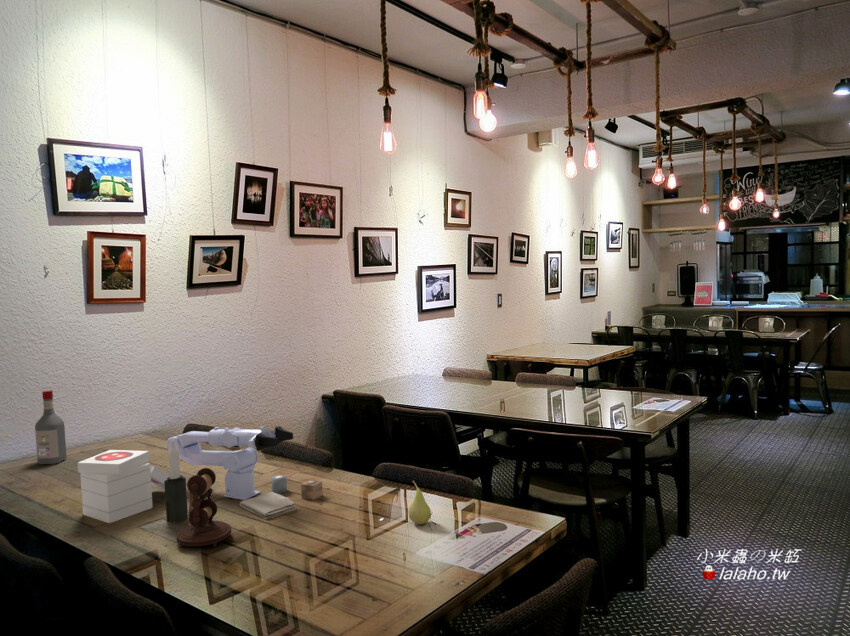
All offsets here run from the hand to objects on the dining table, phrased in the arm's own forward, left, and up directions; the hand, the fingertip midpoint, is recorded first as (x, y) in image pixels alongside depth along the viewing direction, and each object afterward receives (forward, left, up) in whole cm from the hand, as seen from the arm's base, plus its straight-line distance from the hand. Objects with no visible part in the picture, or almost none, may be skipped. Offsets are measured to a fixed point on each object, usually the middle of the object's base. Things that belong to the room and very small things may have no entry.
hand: (285, 438), depth 206 cm
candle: (-23, -25, -22) cm, 40 cm away
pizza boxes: (-47, -22, -22) cm, 56 cm away
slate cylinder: (-10, +8, -22) cm, 25 cm away
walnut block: (+4, +8, -22) cm, 23 cm away
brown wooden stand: (-3, -33, -22) cm, 40 cm away
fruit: (+48, +2, -22) cm, 53 cm away
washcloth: (-3, -6, -22) cm, 23 cm away
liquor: (-125, 0, -22) cm, 127 cm away
